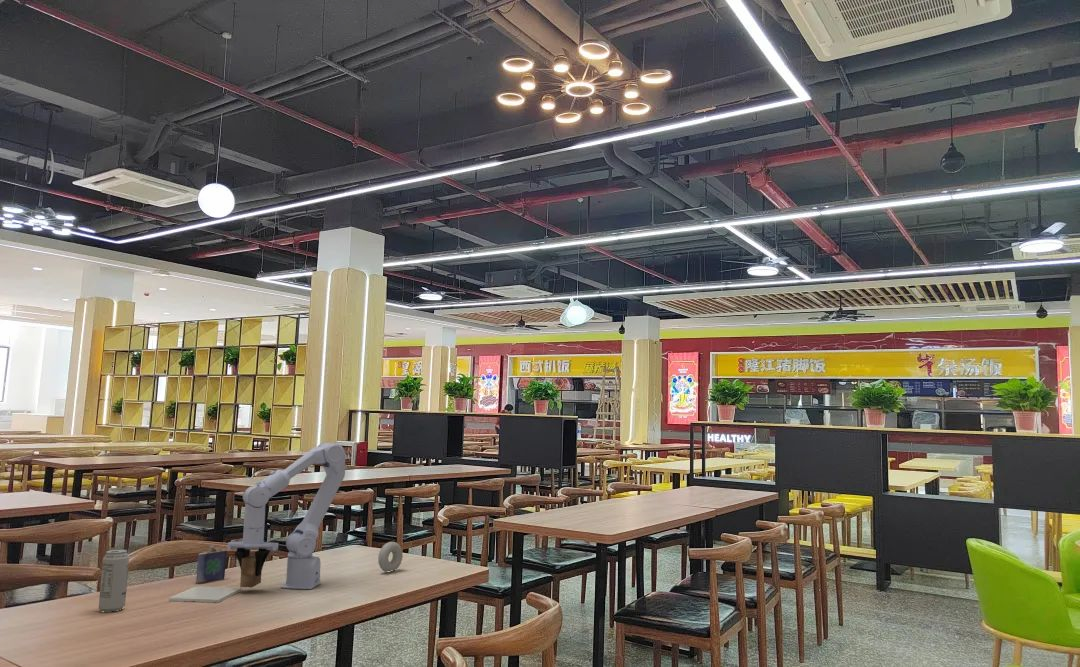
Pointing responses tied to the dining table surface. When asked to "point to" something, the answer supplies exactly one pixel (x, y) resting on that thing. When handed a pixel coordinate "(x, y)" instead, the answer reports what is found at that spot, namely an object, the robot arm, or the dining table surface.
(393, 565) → the donut
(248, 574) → the walnut block
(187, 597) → the stone board
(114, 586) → the energy drink can
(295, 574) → the robot arm
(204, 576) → the flask
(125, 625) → the dining table surface
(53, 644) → the dining table surface
